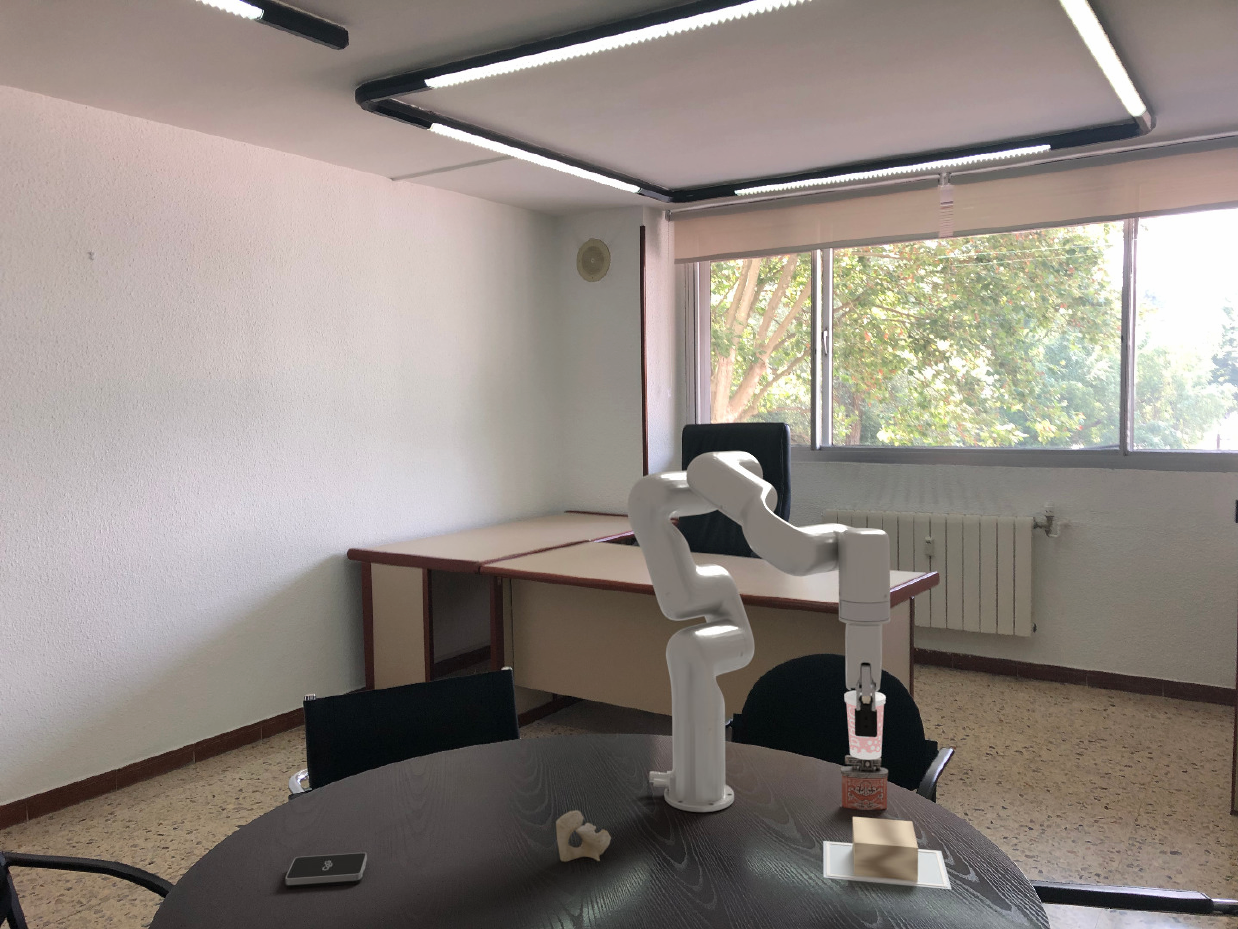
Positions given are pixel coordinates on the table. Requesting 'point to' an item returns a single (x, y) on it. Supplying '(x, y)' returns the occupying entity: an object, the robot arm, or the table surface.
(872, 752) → the beverage cup
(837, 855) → the white tray
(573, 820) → the bone
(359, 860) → the external hard drive
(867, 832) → the maple block
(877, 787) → the lighter
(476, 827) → the table surface
